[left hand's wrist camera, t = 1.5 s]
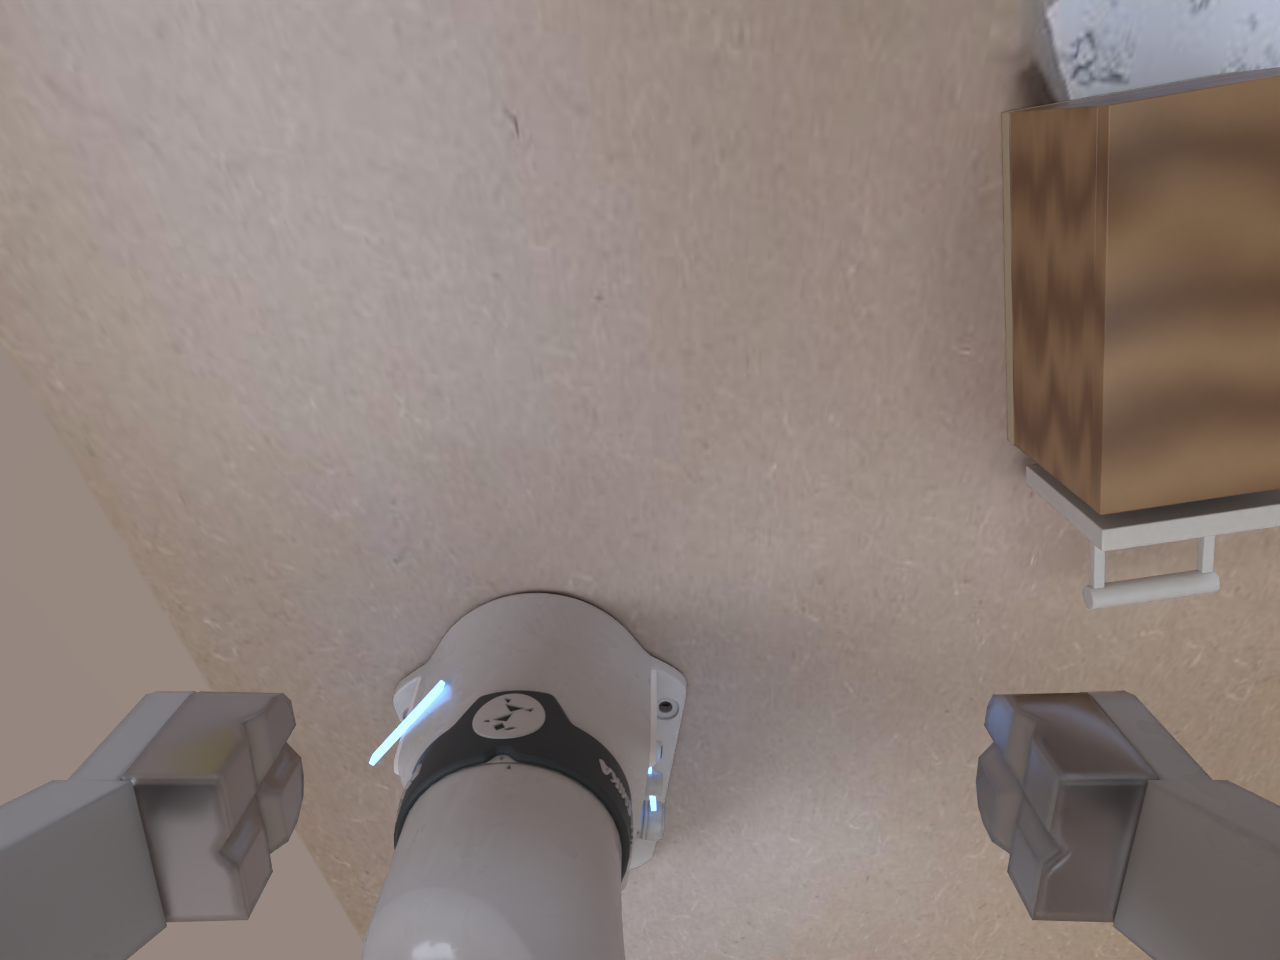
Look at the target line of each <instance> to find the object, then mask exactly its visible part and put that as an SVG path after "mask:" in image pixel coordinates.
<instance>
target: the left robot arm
mask: <svg viewBox="0 0 1280 960" xmlns="http://www.w3.org/2000/svg"><path fill="white" fill-rule="evenodd" d="M686 694H687V681H686V679H685V677H684V676H683V674H682V673H680V672H679V671H678V670H676V669H675V668H673V667H672V666H670V665H668V664H666V663H664V662H662V661H661V660H659V659H656V658H654V657H652V656H651V655H649V654H648V653H647V652H646V651H645V650H644V649H643V648H642V647H641V646H640V645H639V643H638V642H637V641H636V640H635V639H634V637H633V636H632V635H631V634H630V633H629V632H628V631H627V630H626V628H625V627H624V626H622V625H621V624H620V623H619V622H618V621H617V620H615V619H614V618H613V617H611V616H610V615H608V614H607V613H606V612H604V611H602V610H600V609H599V608H597V607H595V606H593V605H591V604H588V603H586V602H583V601H581V600H578V599H575V598H571V597H567V596H563V595H557V594H550V593H522V594H515V595H510V596H505V597H502V598H498V599H495V600H492V601H490V602H487V603H485V604H483V605H481V606H479V607H477V608H475V609H473V610H472V611H470V612H469V613H467V614H466V615H465V616H463V617H462V618H461V619H460V620H458V621H457V622H456V623H455V624H454V625H453V626H452V627H451V628H450V629H449V631H448V632H447V633H446V634H445V636H444V637H443V638H442V640H441V642H440V643H439V645H438V647H437V648H436V650H435V652H434V653H433V655H432V656H431V658H430V659H429V660H428V661H427V663H426V664H424V665H423V666H421V667H419V668H418V669H416V670H415V671H413V672H412V673H410V674H409V675H408V676H406V677H405V678H404V679H403V680H401V681H400V683H399V684H398V685H397V687H396V689H395V693H394V697H393V704H394V708H395V710H396V713H397V715H398V718H399V720H400V723H401V724H400V725H399V726H398V727H397V728H396V729H395V731H394V732H393V733H392V734H391V735H390V736H389V737H388V738H387V739H386V740H385V741H384V743H383V744H382V745H381V746H380V747H379V748H378V749H377V750H376V751H375V752H374V753H373V755H372V757H371V759H370V762H369V763H370V764H371V765H374V764H375V763H376V762H377V761H378V760H379V759H380V758H381V757H382V756H383V755H384V753H385V752H386V751H387V750H388V749H389V748H390V747H391V746H392V745H393V744H394V743H395V742H396V741H397V739H398V738H399V737H400V736H401V738H400V742H399V745H398V749H397V752H396V756H395V760H394V772H395V774H397V775H400V779H401V783H402V786H403V788H404V791H403V794H402V797H401V801H400V804H399V809H398V813H397V814H398V815H397V821H396V825H395V832H394V849H395V851H394V854H393V857H392V860H391V863H390V866H389V869H388V872H387V875H386V878H385V880H384V883H383V886H382V889H381V892H380V895H379V898H378V901H377V904H376V907H375V910H374V912H373V915H372V918H371V921H370V924H369V927H368V930H367V933H366V936H365V939H364V943H363V949H362V960H625V951H624V941H623V926H622V905H621V892H622V890H623V889H624V888H625V887H626V884H627V879H628V875H629V871H630V870H632V869H635V868H637V867H639V866H641V865H642V864H644V863H646V862H648V861H649V860H650V859H651V858H652V857H653V855H654V851H655V848H656V843H657V841H659V840H662V837H663V832H664V822H665V799H666V794H667V789H668V784H669V779H670V774H671V769H672V764H673V759H674V754H675V750H676V745H677V740H678V735H679V730H680V725H681V720H682V715H683V710H684V705H685V700H686ZM662 702H669V703H671V704H670V705H668V706H662V705H660V703H662ZM295 726H296V723H295V718H294V713H293V708H292V703H291V700H290V699H289V698H288V697H287V696H286V695H285V694H284V693H250V692H195V691H157V692H154V693H150V694H146V695H145V696H144V697H143V698H142V699H141V700H140V702H139V703H138V704H137V705H136V706H135V707H134V708H133V709H132V710H131V711H130V712H129V713H128V715H127V716H126V717H125V718H124V719H123V720H122V721H121V722H120V723H119V724H118V725H117V727H116V728H115V729H114V730H113V731H112V732H111V733H110V734H109V735H108V736H107V737H106V739H105V740H104V741H103V742H102V743H101V744H100V745H99V746H98V747H97V748H96V749H95V751H94V752H93V753H92V754H91V755H90V756H89V757H88V758H87V759H86V760H85V761H84V762H83V764H82V765H81V766H80V767H79V768H78V769H77V770H76V771H75V772H74V773H73V774H72V776H71V777H70V778H69V779H68V780H53V781H50V782H48V783H46V784H44V785H42V786H40V787H38V788H36V789H34V790H32V791H30V792H28V793H26V794H24V795H22V796H20V797H18V798H16V799H14V800H12V801H9V802H7V803H5V804H3V805H1V806H0V960H127V959H128V958H129V957H131V956H132V955H133V954H134V953H135V952H137V951H138V950H139V949H140V948H141V947H143V946H144V945H145V944H146V943H147V942H149V941H150V940H151V939H152V938H154V937H155V936H156V935H157V934H158V933H160V932H161V931H162V930H163V929H164V928H166V926H167V924H166V922H192V921H226V920H248V919H249V917H250V915H251V913H252V911H253V909H254V907H255V905H256V903H257V901H258V899H259V897H260V895H261V893H262V891H263V890H264V888H265V886H266V884H267V882H268V880H269V878H270V876H271V874H272V872H273V870H272V865H271V859H270V854H271V853H272V852H273V851H275V850H276V849H278V848H279V847H281V846H282V845H283V844H285V843H286V842H288V841H289V839H290V836H291V834H292V832H293V830H294V828H295V826H296V824H297V822H298V818H299V813H300V809H301V804H302V800H303V788H304V774H303V767H302V760H301V757H300V756H299V755H298V754H297V753H296V752H295V751H294V750H293V749H292V748H291V747H290V746H289V744H288V743H287V742H286V741H287V739H288V738H289V736H290V734H291V732H292V731H293V729H294V727H295ZM984 726H985V727H986V729H987V731H988V732H989V734H990V736H991V738H992V739H993V741H994V742H993V743H992V744H991V746H990V747H989V748H988V749H987V750H986V751H985V752H984V753H983V754H982V755H981V756H980V757H979V761H978V769H977V777H976V788H977V799H978V807H979V811H980V814H981V817H982V821H983V824H984V826H985V828H986V830H987V832H988V834H989V837H990V839H991V841H992V842H994V843H995V844H997V845H998V846H999V847H1001V848H1002V849H1004V850H1005V851H1007V852H1008V853H1009V854H1010V859H1009V864H1008V870H1007V872H1008V874H1009V876H1010V878H1011V880H1012V882H1013V884H1014V886H1015V888H1016V889H1017V891H1018V893H1019V895H1020V897H1021V899H1022V901H1023V903H1024V905H1025V907H1026V909H1027V911H1028V913H1029V915H1030V916H1031V918H1032V920H1051V921H1087V922H1114V924H1113V926H1114V927H1115V928H1116V929H1117V930H1118V931H1120V932H1121V933H1122V934H1123V935H1124V936H1126V937H1127V938H1128V939H1129V940H1131V941H1132V942H1133V943H1134V944H1135V945H1137V946H1138V947H1139V948H1140V949H1141V950H1143V951H1144V952H1145V953H1146V954H1147V955H1149V956H1150V957H1151V958H1152V959H1153V960H1280V806H1279V805H1277V804H1275V803H1272V802H1270V801H1268V800H1266V799H1264V798H1262V797H1260V796H1258V795H1256V794H1254V793H1252V792H1250V791H1248V790H1246V789H1244V788H1242V787H1240V786H1238V785H1236V784H1234V783H1232V782H1230V781H1228V780H1212V779H1211V778H1210V777H1209V776H1208V774H1207V773H1206V772H1205V771H1204V770H1203V769H1202V768H1201V767H1200V766H1199V765H1198V764H1197V762H1196V761H1195V760H1194V759H1193V758H1192V757H1191V756H1190V755H1189V754H1188V753H1187V752H1186V750H1185V749H1184V748H1183V747H1182V746H1181V745H1180V744H1179V743H1178V742H1177V741H1176V740H1175V738H1174V737H1173V736H1172V735H1171V734H1170V733H1169V732H1168V731H1167V730H1166V729H1165V728H1164V726H1163V725H1162V724H1161V723H1160V722H1159V721H1158V720H1157V719H1156V718H1155V717H1154V716H1153V714H1152V713H1151V712H1150V711H1149V710H1148V709H1147V708H1146V707H1145V706H1144V705H1143V704H1142V702H1141V701H1140V700H1139V699H1138V698H1137V697H1136V696H1135V695H1133V694H1130V693H1128V692H1126V691H1099V692H1080V693H1045V694H993V696H992V698H991V700H990V702H989V704H988V706H987V711H986V717H985V723H984Z"/></svg>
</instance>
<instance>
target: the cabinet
mask: <svg viewBox="0 0 1280 960" xmlns="http://www.w3.org/2000/svg"><path fill="white" fill-rule="evenodd" d="M1002 152H1003V207H1004V263H1005V318H1006V373H1007V428H1008V441H1009V442H1011V443H1012V444H1013V445H1016V446H1017V447H1018V448H1019V449H1020V450H1022V451H1023V452H1024V453H1025V454H1027V455H1028V456H1029V457H1030V458H1032V459H1033V460H1034V461H1035V462H1036V463H1038V464H1039V465H1040V466H1041V467H1043V468H1044V469H1045V470H1046V471H1047V472H1049V473H1050V474H1051V475H1052V476H1054V477H1055V478H1056V479H1057V480H1058V481H1060V482H1061V483H1062V484H1063V485H1065V486H1066V487H1067V488H1068V489H1070V490H1071V491H1072V492H1073V493H1074V494H1076V495H1077V496H1078V497H1079V498H1081V499H1082V500H1083V501H1084V502H1085V503H1087V504H1088V505H1089V506H1091V508H1093V509H1094V510H1095V511H1096V512H1097V513H1099V514H1100V515H1104V514H1111V513H1118V512H1124V511H1131V510H1138V509H1145V508H1152V507H1158V506H1165V505H1172V504H1179V503H1185V502H1192V501H1199V500H1206V499H1213V498H1219V497H1226V496H1233V495H1240V494H1246V493H1253V492H1260V491H1267V490H1274V489H1280V67H1279V68H1270V69H1261V70H1253V71H1244V72H1232V73H1225V74H1219V75H1213V76H1208V77H1202V78H1196V79H1190V80H1185V81H1179V82H1173V83H1168V84H1162V85H1156V86H1150V87H1145V88H1139V89H1133V90H1127V91H1122V92H1116V93H1110V94H1105V95H1099V96H1093V97H1087V98H1082V99H1076V100H1070V101H1064V102H1059V103H1053V104H1047V105H1042V106H1036V107H1030V108H1024V109H1019V110H1013V111H1007V112H1002Z"/></svg>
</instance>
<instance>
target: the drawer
mask: <svg viewBox="0 0 1280 960" xmlns="http://www.w3.org/2000/svg"><path fill="white" fill-rule="evenodd" d="M1026 484H1027V485H1028V486H1029V487H1030V488H1031V489H1032V490H1033V491H1035V492H1036V493H1037V494H1038V495H1039V496H1040V497H1041V498H1042V499H1044V500H1045V501H1046V502H1047V503H1048V504H1049V505H1050V506H1051V507H1053V508H1054V509H1055V510H1056V511H1057V512H1058V513H1059V514H1060V515H1062V516H1063V517H1064V518H1065V519H1066V520H1067V521H1068V522H1069V523H1070V524H1072V525H1073V526H1074V527H1075V528H1076V529H1077V530H1078V531H1079V532H1081V533H1082V534H1083V535H1084V536H1085V537H1086V538H1087V539H1088V540H1090V577H1089V584H1090V585H1088V586H1085V587H1084V588H1083V599H1084V602H1085V605H1086V606H1087V608H1089V609H1091V610H1092V609H1099V608H1106V607H1113V606H1120V605H1127V604H1134V603H1141V602H1148V601H1155V600H1162V599H1169V598H1176V597H1184V596H1191V595H1198V594H1205V593H1212V592H1216V591H1218V590H1219V587H1220V581H1219V577H1218V575H1217V573H1216V572H1215V571H1214V570H1213V563H1214V549H1215V536H1216V535H1221V534H1228V533H1235V532H1242V531H1249V530H1256V529H1263V528H1269V527H1276V526H1280V489H1274V490H1267V491H1260V492H1253V493H1246V494H1240V495H1233V496H1226V497H1219V498H1213V499H1206V500H1199V501H1192V502H1185V503H1179V504H1172V505H1165V506H1158V507H1152V508H1145V509H1138V510H1131V511H1124V512H1118V513H1111V514H1104V515H1100V514H1099V513H1097V512H1096V511H1095V510H1094V509H1093V508H1091V506H1089V505H1088V504H1087V503H1085V502H1084V501H1083V500H1082V499H1081V498H1079V497H1078V496H1077V495H1076V494H1074V493H1073V492H1072V491H1071V490H1070V489H1068V488H1067V487H1066V486H1065V485H1063V484H1062V483H1061V482H1060V481H1058V480H1057V479H1056V478H1055V477H1054V476H1052V475H1051V474H1050V473H1049V472H1047V471H1046V470H1045V469H1044V468H1043V467H1041V466H1040V465H1039V464H1033V465H1027V466H1026ZM1194 538H1198V552H1197V570H1193V571H1186V572H1179V573H1172V574H1165V575H1158V576H1151V577H1144V578H1137V579H1130V580H1123V581H1116V582H1109V583H1105V551H1111V550H1118V549H1125V548H1132V547H1139V546H1145V545H1152V544H1159V543H1166V542H1173V541H1180V540H1187V539H1194Z"/></svg>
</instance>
